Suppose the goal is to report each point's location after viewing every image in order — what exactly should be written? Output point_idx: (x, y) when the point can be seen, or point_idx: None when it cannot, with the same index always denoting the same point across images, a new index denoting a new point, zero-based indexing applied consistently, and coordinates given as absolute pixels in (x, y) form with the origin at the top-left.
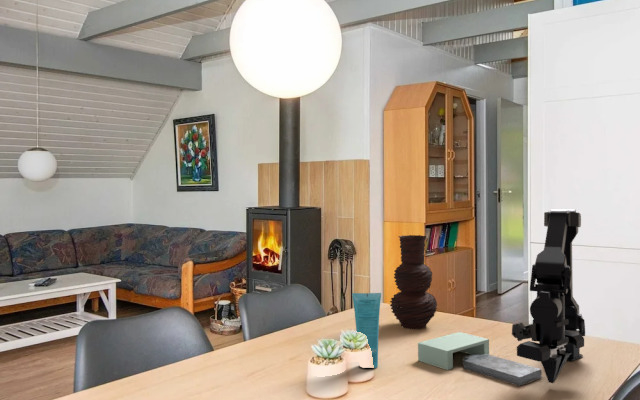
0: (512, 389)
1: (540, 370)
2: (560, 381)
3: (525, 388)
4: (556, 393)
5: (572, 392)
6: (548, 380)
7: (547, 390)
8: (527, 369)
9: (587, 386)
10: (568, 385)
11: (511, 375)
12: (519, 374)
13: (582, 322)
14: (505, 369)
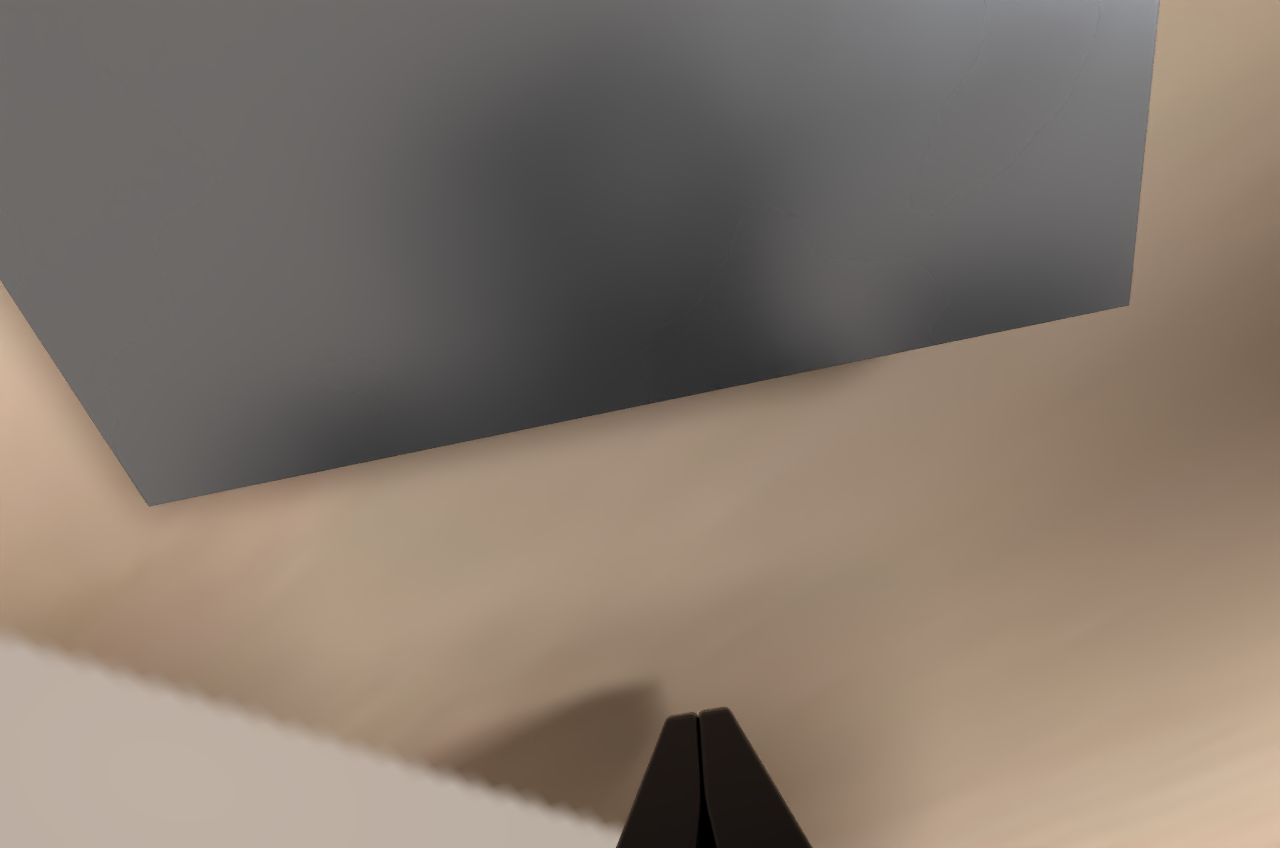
0: (35, 478)
1: (1062, 304)
2: (1071, 548)
3: (289, 533)
4: (585, 795)
5: None
6: (661, 744)
7: (558, 701)
8: (761, 137)
9: (1151, 795)
10: (991, 693)
11: (19, 289)
12: (252, 363)
13: None
14: None
